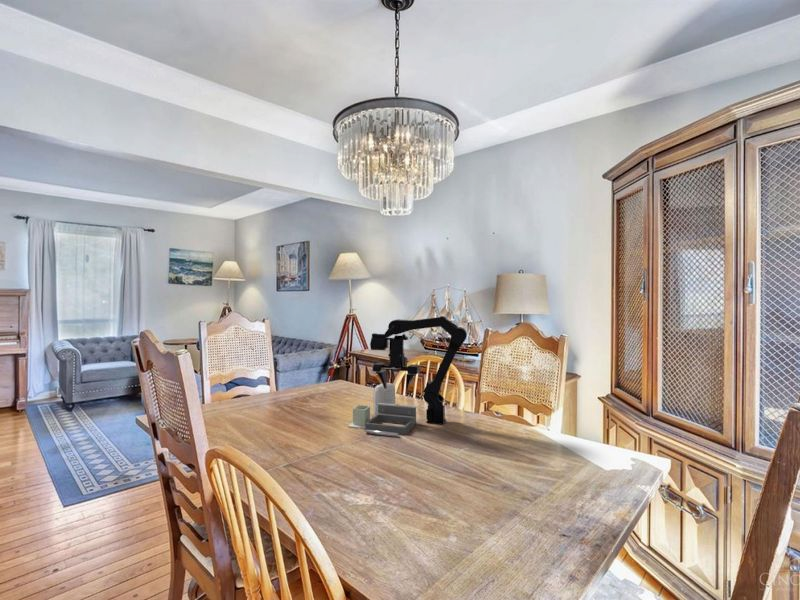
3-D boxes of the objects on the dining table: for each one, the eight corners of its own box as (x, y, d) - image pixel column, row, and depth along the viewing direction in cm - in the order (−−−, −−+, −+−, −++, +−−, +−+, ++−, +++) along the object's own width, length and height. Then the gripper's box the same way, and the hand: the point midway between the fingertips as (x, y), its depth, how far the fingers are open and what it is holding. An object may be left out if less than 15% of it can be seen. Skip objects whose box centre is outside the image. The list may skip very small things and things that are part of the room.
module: (370, 421, 160) (370, 405, 160) (365, 425, 156) (365, 409, 156) (358, 420, 162) (358, 404, 162) (353, 424, 157) (353, 408, 157)
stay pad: (374, 421, 163) (374, 420, 163) (364, 428, 153) (364, 427, 153) (358, 419, 165) (358, 418, 165) (347, 426, 155) (347, 425, 155)
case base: (414, 424, 159) (414, 416, 159) (405, 434, 147) (405, 426, 147) (377, 420, 164) (377, 413, 164) (365, 430, 152) (365, 422, 152)
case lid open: (416, 422, 160) (416, 406, 160) (415, 424, 159) (415, 407, 159) (378, 419, 165) (378, 402, 165) (376, 420, 164) (376, 403, 164)
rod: (398, 436, 145) (398, 432, 145) (397, 437, 144) (397, 433, 144) (367, 432, 149) (367, 428, 149) (365, 434, 147) (365, 430, 147)
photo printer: (389, 408, 180) (390, 380, 180) (396, 410, 177) (396, 382, 177) (371, 413, 173) (372, 384, 173) (378, 415, 170) (378, 386, 170)
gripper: (423, 349, 170) (423, 386, 170) (381, 347, 175) (381, 383, 175) (416, 352, 159) (416, 393, 159) (372, 350, 165) (371, 389, 165)
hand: (396, 389), depth 165 cm, fingers open, 9 cm apart
